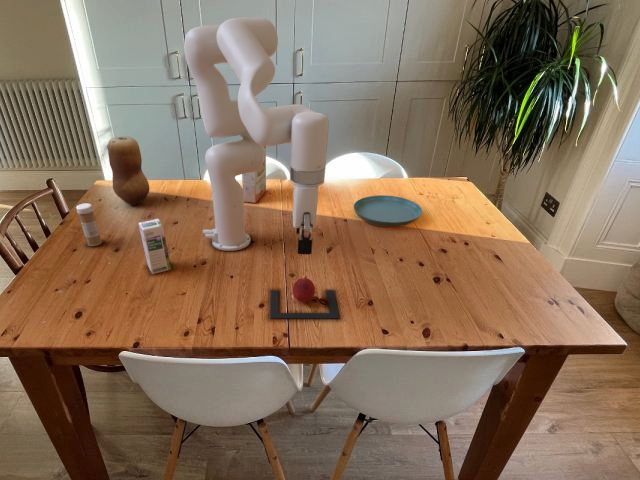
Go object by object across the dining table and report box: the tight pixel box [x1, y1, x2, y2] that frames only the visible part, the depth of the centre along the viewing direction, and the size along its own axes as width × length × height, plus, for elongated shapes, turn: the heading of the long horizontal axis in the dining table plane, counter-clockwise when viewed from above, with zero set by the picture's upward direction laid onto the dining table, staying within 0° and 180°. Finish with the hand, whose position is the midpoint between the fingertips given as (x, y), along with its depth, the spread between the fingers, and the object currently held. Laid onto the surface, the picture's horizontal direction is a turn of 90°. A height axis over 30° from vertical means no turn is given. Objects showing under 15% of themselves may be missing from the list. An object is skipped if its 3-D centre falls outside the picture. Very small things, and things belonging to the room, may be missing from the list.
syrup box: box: [138, 218, 172, 275], centre depth 117 cm, size 6×6×14 cm
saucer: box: [353, 194, 423, 228], centre depth 149 cm, size 24×24×3 cm
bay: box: [269, 289, 340, 320], centre depth 106 cm, size 17×12×1 cm
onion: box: [291, 274, 316, 303], centre depth 105 cm, size 6×6×8 cm
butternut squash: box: [106, 136, 150, 207], centre depth 155 cm, size 14×13×25 cm
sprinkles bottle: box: [75, 202, 103, 248], centre depth 130 cm, size 5×5×14 cm
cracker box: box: [241, 146, 267, 204], centre depth 160 cm, size 14×6×21 cm, turn 164°
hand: (303, 243), depth 99 cm, fingers open, 9 cm apart
